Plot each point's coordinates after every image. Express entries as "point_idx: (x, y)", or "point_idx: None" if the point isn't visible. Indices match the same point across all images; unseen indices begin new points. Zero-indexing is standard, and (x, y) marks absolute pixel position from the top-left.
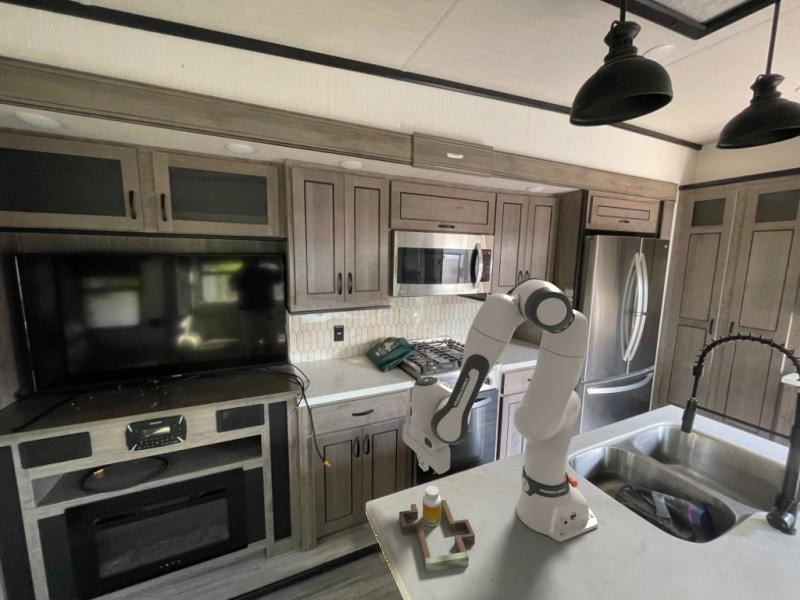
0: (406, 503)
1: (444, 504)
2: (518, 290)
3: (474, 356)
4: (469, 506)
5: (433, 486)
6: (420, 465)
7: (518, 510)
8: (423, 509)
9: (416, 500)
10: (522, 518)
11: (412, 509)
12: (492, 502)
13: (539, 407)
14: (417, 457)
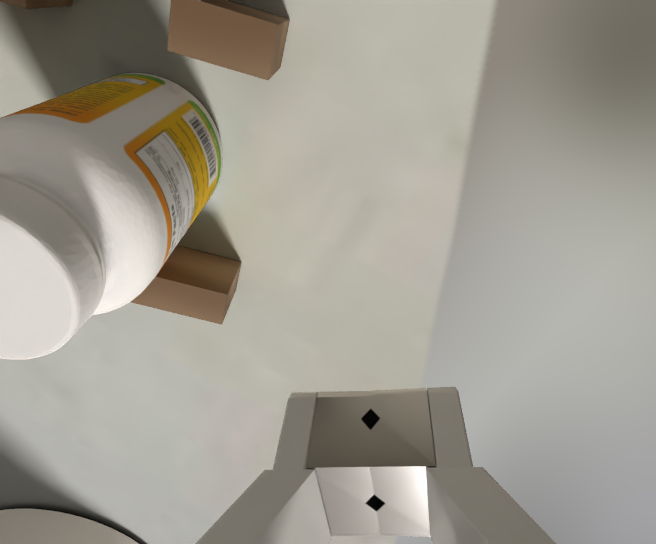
0: (399, 26)
1: (177, 295)
2: None
3: None
4: (193, 397)
5: (51, 336)
6: (403, 421)
7: (75, 537)
8: (91, 95)
9: (385, 134)
10: (38, 521)
11: (206, 5)
12: (184, 485)
13: None
14: (545, 540)
